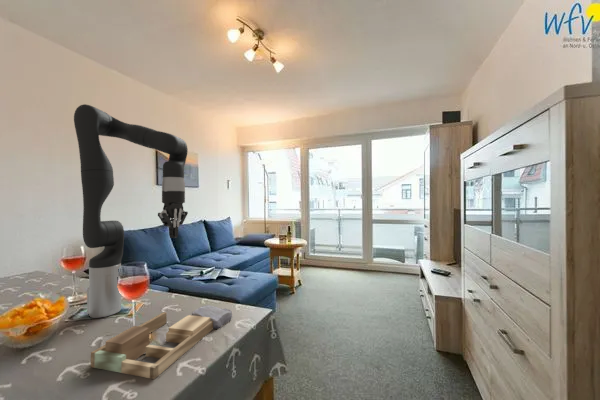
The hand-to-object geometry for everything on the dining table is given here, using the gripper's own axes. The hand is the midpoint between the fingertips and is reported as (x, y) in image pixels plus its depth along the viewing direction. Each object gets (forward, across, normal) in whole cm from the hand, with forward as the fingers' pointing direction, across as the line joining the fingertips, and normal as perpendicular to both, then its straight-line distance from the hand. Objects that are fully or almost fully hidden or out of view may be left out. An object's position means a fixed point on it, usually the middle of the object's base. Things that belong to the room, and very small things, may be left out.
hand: (173, 237), depth 92 cm
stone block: (+28, +2, +18) cm, 33 cm away
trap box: (+27, +20, +12) cm, 35 cm away
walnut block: (+27, +26, +8) cm, 38 cm away
